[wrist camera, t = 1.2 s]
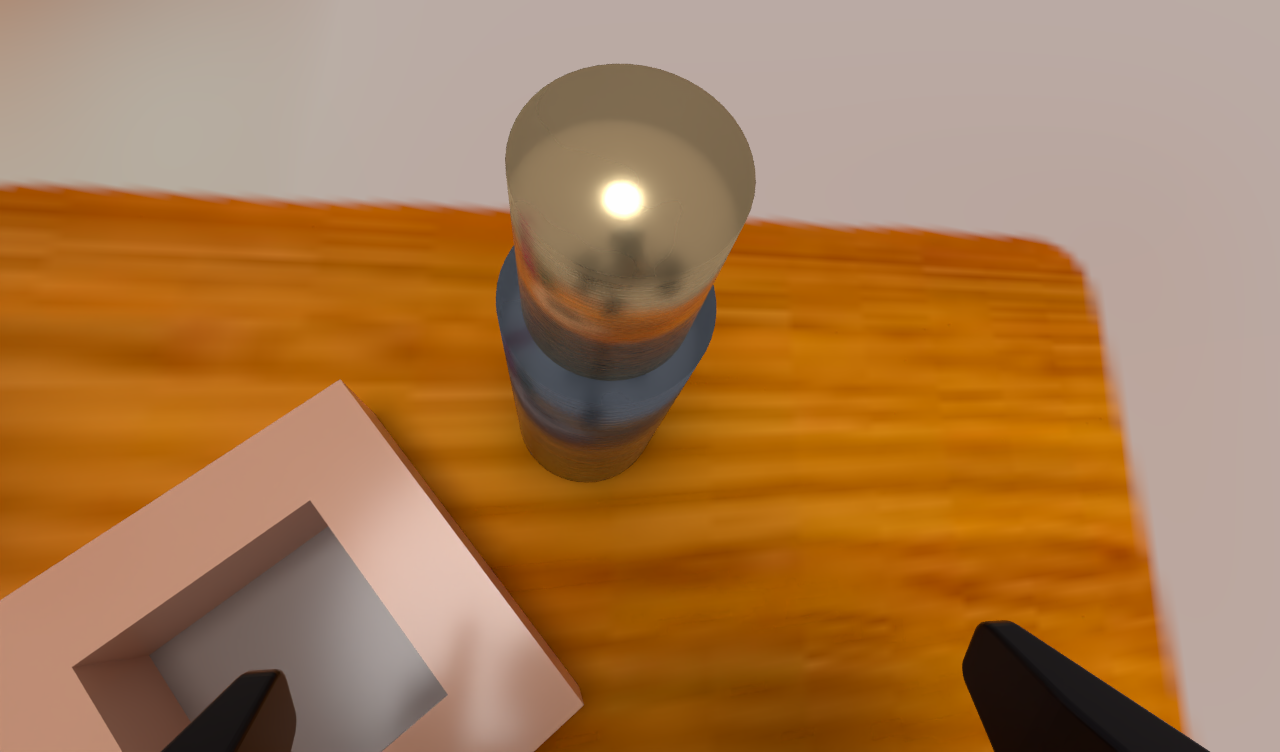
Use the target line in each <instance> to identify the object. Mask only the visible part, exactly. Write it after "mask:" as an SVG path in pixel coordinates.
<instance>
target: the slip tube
mask: <svg viewBox="0 0 1280 752" xmlns="http://www.w3.org/2000/svg"><path fill="white" fill-rule="evenodd" d="M505 164H506V176H507V177H506V178H507V185H508V195H509V204H510V213H511V221H512V230H513V239H514V246H513V247H512V249H511V251H510V252H509V254H508V256H507V257H506V259H505V262H504V264H503V266H502V269H501V271H500V275H499V279H498V283H497V291H496V310H497V316H498V321H499V326H500V331H501V336H502V341H503V346H504V351H505V356H506V360H507V365H508V370H509V375H510V380H511V385H512V390H513V395H514V400H515V404H516V409H517V414H518V419H519V424H520V429H521V434H522V437H523V440H524V442H525V444H526V446H527V448H528V450H529V452H530V453H531V455H532V456H533V457H534V458H535V459H536V461H537V462H538V463H539V464H540V465H542V466H543V467H544V468H545V469H546V470H548V471H550V472H551V473H553V474H555V475H557V476H559V477H561V478H564V479H567V480H571V481H576V482H597V481H601V480H606V479H608V478H611V477H614V476H616V475H618V474H620V473H622V472H623V471H624V470H626V469H627V468H629V467H630V466H631V465H632V464H633V463H634V462H635V461H636V460H637V459H638V457H639V456H640V455H641V453H642V452H643V450H644V449H645V447H646V445H647V444H648V442H649V441H650V439H651V438H652V436H653V434H654V433H655V431H656V430H657V428H658V426H659V425H660V423H661V422H662V420H663V418H664V417H665V415H666V414H667V412H668V411H669V409H670V407H671V406H672V404H673V403H674V401H675V399H676V398H677V396H678V395H679V393H680V391H681V390H682V388H683V387H684V385H685V383H686V382H687V380H688V379H689V377H690V376H691V374H692V372H693V371H694V369H695V368H696V366H697V364H698V363H699V361H700V360H701V358H702V356H703V355H704V353H705V351H706V349H707V347H708V345H709V343H710V340H711V338H712V334H713V330H714V326H715V319H716V297H715V291H714V286H713V283H714V282H715V280H716V278H717V276H718V274H719V272H720V270H721V268H722V266H723V264H724V262H725V260H726V258H727V256H728V254H729V252H730V250H731V249H732V247H733V245H734V243H735V241H736V239H737V237H738V235H739V233H740V231H741V229H742V227H743V225H744V223H745V221H746V219H747V217H748V214H749V212H750V210H751V206H752V203H753V199H754V193H755V184H756V180H755V166H754V161H753V156H752V153H751V150H750V147H749V144H748V142H747V140H746V138H745V136H744V134H743V132H742V130H741V128H740V127H739V125H738V124H737V123H736V121H735V119H734V118H733V117H732V116H731V114H730V113H729V112H728V111H727V110H726V109H725V108H724V106H722V105H721V104H720V103H719V102H718V101H717V100H716V99H715V98H714V97H713V96H711V95H710V94H709V93H707V92H706V91H704V90H703V89H702V88H700V87H699V86H697V85H695V84H693V83H692V82H690V81H688V80H686V79H684V78H681V77H679V76H677V75H675V74H672V73H669V72H666V71H663V70H660V69H656V68H652V67H647V66H642V65H633V64H606V65H597V66H593V67H588V68H583V69H580V70H577V71H574V72H571V73H569V74H566V75H564V76H562V77H560V78H558V79H556V80H554V81H553V82H551V83H550V84H548V85H546V86H545V87H543V88H542V89H541V90H540V91H539V92H538V93H537V94H535V95H534V96H533V97H532V98H531V99H530V100H529V102H528V103H527V104H526V105H525V106H524V107H523V109H522V110H521V112H520V113H519V115H518V117H517V118H516V120H515V122H514V124H513V127H512V129H511V131H510V135H509V138H508V142H507V147H506V157H505Z"/></svg>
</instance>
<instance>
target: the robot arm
mask: <svg viewBox="0 0 1280 752" xmlns="http://www.w3.org/2000/svg"><path fill="white" fill-rule="evenodd" d="M962 671H963V677H964V680H965V683H966V685H967V688H968V690H969V693H970V695H971V697H972V700H973V702H974V705H975V707H976V709H977V712H978V714H979V716H980V719H981V721H982V724H983V726H984V728H985V731H986V733H987V735H988V738H989V740H990V743H991V745H992V747H993V750H994V752H1210V751H1208V750H1207V749H1205V748H1204V747H1202V746H1201V745H1199V744H1198V743H1196V742H1195V741H1193V740H1192V739H1190V738H1189V737H1187V736H1185V735H1184V734H1182V733H1181V732H1179V731H1178V730H1176V729H1175V728H1173V727H1172V726H1170V725H1169V724H1167V723H1166V722H1164V721H1163V720H1161V719H1160V718H1158V717H1157V716H1155V715H1154V714H1152V713H1151V712H1149V711H1148V710H1146V709H1144V708H1143V707H1141V706H1140V705H1138V704H1137V703H1135V702H1134V701H1132V700H1131V699H1129V698H1128V697H1126V696H1125V695H1123V694H1122V693H1120V692H1119V691H1117V690H1116V689H1114V688H1113V687H1111V686H1110V685H1108V684H1107V683H1105V682H1104V681H1102V680H1100V679H1099V678H1097V677H1096V676H1094V675H1093V674H1091V673H1090V672H1088V671H1087V670H1085V669H1084V668H1082V667H1081V666H1079V665H1078V664H1076V663H1075V662H1073V661H1072V660H1070V659H1069V658H1067V657H1066V656H1064V655H1063V654H1061V653H1060V652H1058V651H1056V650H1055V649H1053V648H1052V647H1050V646H1049V645H1047V644H1046V643H1044V642H1043V641H1041V640H1040V639H1038V638H1037V637H1035V636H1034V635H1032V634H1031V633H1029V632H1028V631H1026V630H1025V629H1023V628H1022V627H1020V626H1019V625H1017V624H1015V623H1013V622H1011V621H1006V620H1001V621H986V622H981V623H980V624H979V625H978V626H977V627H976V629H975V631H974V634H973V636H972V639H971V641H970V644H969V647H968V649H967V652H966V654H965V657H964V659H963V663H962ZM296 725H297V716H296V710H295V706H294V703H293V699H292V696H291V692H290V689H289V685H288V682H287V678H286V676H285V673H284V672H283V671H282V670H280V669H266V670H252V671H247V672H245V673H243V674H242V675H240V676H239V677H238V678H236V679H235V680H234V681H233V682H232V683H231V684H230V685H229V686H228V687H227V688H226V689H225V690H224V691H223V692H222V693H221V694H220V695H219V696H218V697H217V698H216V699H215V700H213V701H212V702H211V703H210V704H209V705H208V706H207V707H206V708H205V709H204V710H203V711H202V712H201V713H200V714H199V715H198V716H197V717H196V718H195V719H194V720H193V721H192V722H191V723H190V724H189V725H188V726H186V727H185V728H184V729H183V730H182V731H181V732H180V733H179V734H178V735H177V736H176V737H175V738H174V739H173V740H172V741H171V742H170V743H169V744H168V745H167V746H166V747H165V748H164V749H163V750H162V751H161V752H291V750H292V746H293V741H294V737H295V733H296Z"/></svg>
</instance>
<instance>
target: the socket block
mask: <svg viewBox="0 0 1280 752" xmlns="http://www.w3.org/2000/svg"><path fill="white" fill-rule="evenodd" d="M266 669H280V670H282V671H283V672H284V673H285V676H286V678H287V682H288V685H289V689H290V692H291V696H292V699H293V703H294V706H295V710H296V716H297V725H296V733H295V737H294V741H293V746H292V750H291V752H534V751H535V750H536V749H537V748H538V747H539V746H540V745H541V744H543V743H544V742H545V741H546V740H547V739H548V738H549V737H550V736H551V735H552V734H553V733H554V732H555V731H557V730H558V729H559V728H560V727H561V726H562V725H563V724H564V723H565V722H566V721H567V720H568V719H569V718H570V717H572V716H573V715H574V714H575V713H576V712H577V711H578V710H579V709H580V708H581V707H582V706H583V705H584V703H583V700H582V696H581V692H580V688H579V686H578V684H577V683H576V682H575V680H574V679H573V678H572V676H571V675H570V674H569V672H568V671H567V670H566V668H565V667H564V666H563V664H562V663H561V662H560V660H559V659H558V658H557V656H556V655H555V654H554V652H553V651H552V650H551V648H550V647H549V646H548V644H547V643H546V642H545V640H544V639H543V638H542V636H541V635H540V634H539V632H538V631H537V630H536V628H535V627H534V626H533V624H532V623H531V622H530V620H529V619H528V618H527V616H526V615H525V614H524V612H523V611H522V610H521V608H520V607H519V606H518V604H517V603H516V602H515V600H514V599H513V598H512V596H511V595H510V594H509V592H508V591H507V590H506V588H505V587H504V586H503V584H502V583H501V582H500V580H499V579H498V578H497V576H496V575H495V574H494V572H493V571H492V570H491V568H490V567H489V566H488V564H487V563H486V562H485V560H484V559H483V558H482V557H481V555H480V554H479V553H478V551H477V550H476V549H475V547H474V546H473V545H472V543H471V542H470V541H469V539H468V538H467V537H466V535H465V534H464V533H463V531H462V530H461V529H460V527H459V526H458V525H457V523H456V522H455V521H454V519H453V518H452V517H451V515H450V514H449V513H448V511H447V510H446V509H445V507H444V506H443V505H442V503H441V502H440V501H439V499H438V498H437V497H436V495H435V494H434V493H433V491H432V490H431V489H430V487H429V486H428V485H427V483H426V482H425V481H424V479H423V478H422V477H421V475H420V474H419V473H418V471H417V470H416V469H415V467H414V466H413V465H412V463H411V462H410V461H409V459H408V458H407V457H406V455H405V454H404V453H403V451H402V450H401V449H400V447H399V446H398V445H397V443H396V442H395V441H394V439H393V438H392V437H391V435H390V434H389V433H388V431H387V430H386V429H385V427H384V426H383V425H382V423H381V422H380V421H379V419H378V418H377V417H376V415H375V414H374V413H373V412H372V411H371V410H370V409H369V408H368V407H367V406H366V405H365V404H364V403H363V402H362V401H361V400H360V399H359V398H358V397H357V396H356V395H355V394H354V393H353V392H352V391H351V390H350V389H349V388H348V387H347V386H346V385H345V384H344V383H343V382H342V381H341V380H338V381H337V382H335V383H334V384H332V385H331V386H329V387H328V388H326V389H325V390H323V391H322V392H320V393H318V394H317V395H315V396H314V397H312V398H311V399H309V400H308V401H306V402H305V403H303V404H302V405H300V406H298V407H297V408H295V409H294V410H292V411H291V412H289V413H288V414H286V415H285V416H283V417H282V418H280V419H278V420H277V421H275V422H274V423H272V424H271V425H269V426H268V427H266V428H265V429H263V430H262V431H260V432H258V433H257V434H255V435H254V436H252V437H251V438H249V439H248V440H246V441H245V442H243V443H242V444H240V445H238V446H237V447H235V448H234V449H232V450H231V451H229V452H228V453H226V454H225V455H223V456H222V457H220V458H218V459H217V460H215V461H214V462H212V463H211V464H209V465H208V466H206V467H205V468H203V469H202V470H200V471H198V472H197V473H195V474H194V475H192V476H191V477H189V478H188V479H186V480H185V481H183V482H182V483H180V484H179V485H177V486H175V487H174V488H172V489H171V490H169V491H168V492H166V493H165V494H163V495H162V496H160V497H159V498H157V499H155V500H154V501H152V502H151V503H149V504H148V505H146V506H145V507H143V508H142V509H140V510H139V511H137V512H135V513H134V514H132V515H131V516H129V517H128V518H126V519H125V520H123V521H122V522H120V523H119V524H117V525H115V526H114V527H112V528H111V529H109V530H108V531H106V532H105V533H103V534H102V535H100V536H99V537H97V538H95V539H94V540H92V541H91V542H89V543H88V544H86V545H85V546H83V547H82V548H80V549H79V550H77V551H75V552H74V553H72V554H71V555H69V556H68V557H66V558H65V559H63V560H62V561H60V562H59V563H57V564H55V565H54V566H52V567H51V568H49V569H48V570H46V571H45V572H43V573H42V574H40V575H39V576H37V577H35V578H34V579H32V580H31V581H29V582H28V583H26V584H25V585H23V586H22V587H20V588H19V589H17V590H15V591H14V592H12V593H11V594H9V595H8V596H6V597H5V598H3V599H2V600H0V752H161V751H162V750H163V749H164V748H165V747H166V746H167V745H168V744H169V743H170V742H171V741H172V740H173V739H174V738H175V737H176V736H177V735H178V734H179V733H180V732H181V731H182V730H183V729H184V728H185V727H186V726H188V725H189V724H190V723H191V722H192V721H193V720H194V719H195V718H196V717H197V716H198V715H199V714H200V713H201V712H202V711H203V710H204V709H205V708H206V707H207V706H208V705H209V704H210V703H211V702H212V701H213V700H215V699H216V698H217V697H218V696H219V695H220V694H221V693H222V692H223V691H224V690H225V689H226V688H227V687H228V686H229V685H230V684H231V683H232V682H233V681H234V680H235V679H236V678H238V677H239V676H240V675H242V674H243V673H245V672H247V671H252V670H266Z"/></svg>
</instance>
